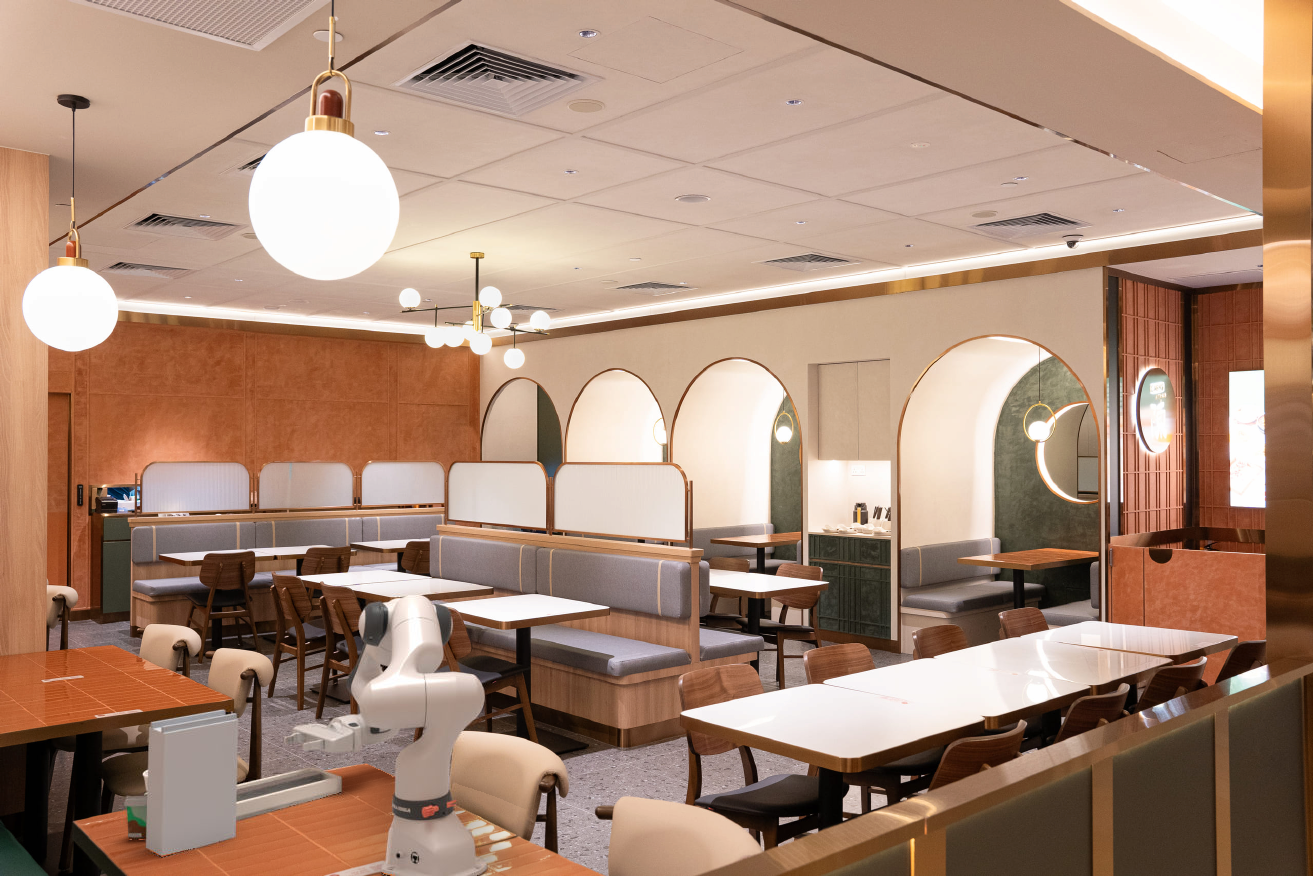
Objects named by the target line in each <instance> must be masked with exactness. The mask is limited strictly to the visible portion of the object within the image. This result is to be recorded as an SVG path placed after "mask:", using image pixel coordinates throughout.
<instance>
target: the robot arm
mask: <svg viewBox="0 0 1313 876" xmlns="http://www.w3.org/2000/svg"><path fill="white" fill-rule="evenodd" d="M453 621H454V620H453V617H452V613H451V611H450V610H449V608H448V607H447V606H445V605H443V604H439V603H432V602H431V600H430V599H429V598H428V597H427V596H424V595H422V594H416V593H415V594H408V595H405V596H403V597H398V598H393V599H391V600H389V601H386V602H382V601H375V602H369V603H368V604H367V605H366V606H365V607H364V608H363V610H362V612H361V614H360V615H359V619H358V630H359V634H360V639H361V640H362V642H363V643H364V644H363V646H362V649H361V651H360V654H359V656H358V659H357V662H356V664H355V666H354V668H353V669H352V670H351V672H350V673H349V675H348V678H347V679H346V689H347V691H348V692H349V693H350V695H351V696H352V697H353V698H354V700H355V701H356V703H357V704H358V707H359V711H360V712H359V714H348V715H343V716H338V717H334V718H333V719H332V720H331V721H330V723H329V724H328V725H327V724H323V723H309V724H303V725H296V726H294V727H293V728H292V734H291V735H288V736H285V737H284V738H283V739H284V741H283V742H284V744H285V745H288V746H290V745H293V744H294V743H299V744H300V745H301V748H300V749H301V750H302V751H305V752H306V751H310V750H311V751H313V750H318V751H323V752H325V753H329V754H343V753H348V752H351V753H357V752H360V751H362V746H370V745H375V744H378V743H382V742H385V741H388V740H390V739H392V738H393V737H396V735H398V734H399V732H400V730H403V729H412V728H415V729H416V728H425V731H424V732H423V734H422V735H421V737H420V738H418V739H417V740H416V741H414V742H412V743H410V744H409V745H407V746H406V747H404V748H403V749H402V750H401V751H400V752H399V754H398V755H397V757H396V760H395V762H394V763H395V764H394V765H395V768H394V769H395V770H394V771H395V772H394V773H395V775H394V777H395V779H394V780H395V781H394V793H393V794H392V801H391V807H392V814H393V818H392V822H391V825H390V827H389V828H388V835H387V844H386V853H385V863H384V864H383V865H382V866H381V868H380V869H381V870H380V873H381V872H384V873H387V874H392V875H395V876H477V875H478V876H479V875H481V874H482V873H484V872H485V871H487V869H488V863H487V862H486V861H484V860H482V859H481V858H480V857H478V856H477V855H476V846H475V840H474V837H473V833H472V830H471V829H469V828H468V829H467V828H466V827H465V825H464V824H463V823H462V821H461V820H460V818H459V817H458V816H457V814H456V813H455V811H454V810H455V807H456V806H457V803H456V802H457V799H453V796H452V793H451V790H450V789H449V784H450V783H449V782H450V781H449V780H450V765H451V759H452V758H451V757H452V752H453V749H454V746H455V744H456V743H457V740H458V738H459V737H460V736H461V735H460V734H462V732H463V731H464V729H466V728H467V727H468V725H470V724H471V723H472V722H473V721H474V720H476V718H477V717H478V716H479V715H480V713H481V712H482V711H483V707H484V704H485V701H486V700H485V697H486V696H485V688H484V687H483V684H482V682H481V680H480V679H479V678H478V677H477V675H475V674H472V673H466V672H460V671H459V672H457V671H445V672H436V671H437V670H438V669H439V667H440V666H441V663H442V662H443V659H444V655H445V654H444V646H445V645H446V644H447V643H448V642H449V640H450V638H451V636H452V633H453V629H454V628H453V627H454V623H453ZM381 665H382V666H385V667H387V668H386V669H385V670H384V671H383V669H382V667H381Z"/></svg>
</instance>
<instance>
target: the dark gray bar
mask: <svg viewBox="0 0 1313 876" xmlns="http://www.w3.org/2000/svg"><path fill="white" fill-rule="evenodd" d="M318 781H322V773H320V772H318V771H311V772H307V773H303V774H299V775H295V776H291V777H286V778H282V779H278V780H274V781H270V782H266V783H262V784H258V785H254V786H249V787H245V788H241V789H237V797H236V802H239V801H243V800H247V799H251V798H255V797H259V796H263V795H267V794H271V793H275V792H279V791H283V790H287V789H290V788H294V787H298V786H302V785H306V784H310V783H314V782H318Z"/></svg>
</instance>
